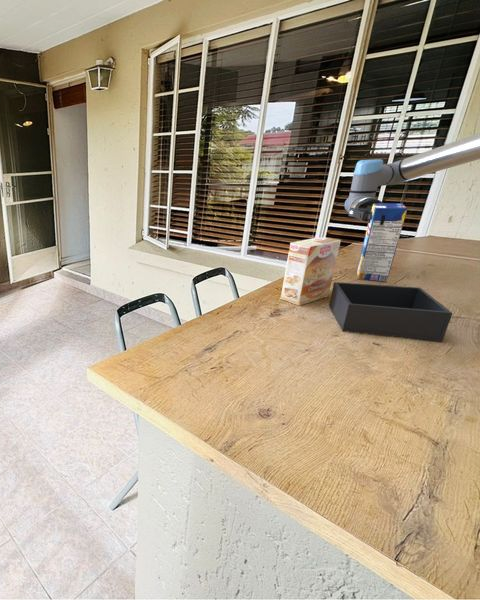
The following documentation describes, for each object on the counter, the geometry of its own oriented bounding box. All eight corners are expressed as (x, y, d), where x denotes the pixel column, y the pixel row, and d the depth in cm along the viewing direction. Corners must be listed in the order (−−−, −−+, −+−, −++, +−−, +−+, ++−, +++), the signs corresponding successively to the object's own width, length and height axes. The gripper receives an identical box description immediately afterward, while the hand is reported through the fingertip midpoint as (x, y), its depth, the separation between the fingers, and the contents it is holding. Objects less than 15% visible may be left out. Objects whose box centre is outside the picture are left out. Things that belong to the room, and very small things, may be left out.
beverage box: (358, 279, 109) (375, 208, 101) (356, 270, 117) (373, 203, 109) (386, 282, 105) (407, 208, 97) (383, 272, 113) (402, 203, 105)
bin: (412, 313, 102) (420, 287, 100) (441, 342, 87) (452, 313, 84) (328, 305, 111) (333, 282, 108) (342, 331, 95) (348, 304, 92)
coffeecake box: (299, 306, 112) (310, 246, 104) (279, 299, 118) (288, 242, 111) (329, 296, 117) (342, 239, 110) (309, 290, 123) (319, 235, 116)
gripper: (394, 220, 118) (423, 234, 98) (336, 220, 124) (353, 232, 105) (400, 197, 115) (431, 206, 95) (341, 198, 122) (359, 207, 102)
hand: (390, 220), depth 100 cm, fingers closed on beverage box, 3 cm apart
